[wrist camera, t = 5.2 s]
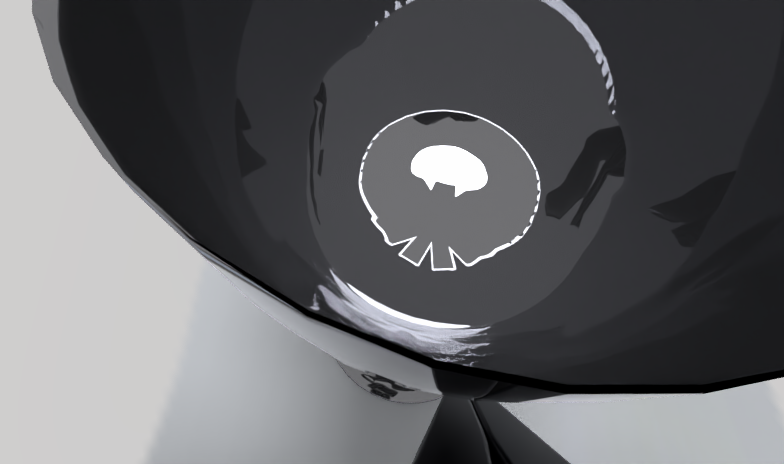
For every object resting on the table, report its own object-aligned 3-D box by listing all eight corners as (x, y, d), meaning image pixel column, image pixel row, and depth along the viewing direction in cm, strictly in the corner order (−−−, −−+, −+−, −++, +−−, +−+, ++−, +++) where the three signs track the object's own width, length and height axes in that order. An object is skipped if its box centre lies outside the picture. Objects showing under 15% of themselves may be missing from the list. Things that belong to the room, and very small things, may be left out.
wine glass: (537, 360, 16) (1334, 73, 3) (360, 454, 15) (141, 917, 1) (445, 205, 19) (608, -298, 6) (289, 269, 18) (-4, -227, 4)
